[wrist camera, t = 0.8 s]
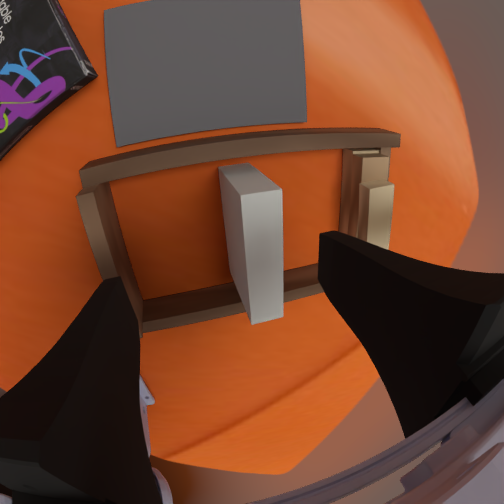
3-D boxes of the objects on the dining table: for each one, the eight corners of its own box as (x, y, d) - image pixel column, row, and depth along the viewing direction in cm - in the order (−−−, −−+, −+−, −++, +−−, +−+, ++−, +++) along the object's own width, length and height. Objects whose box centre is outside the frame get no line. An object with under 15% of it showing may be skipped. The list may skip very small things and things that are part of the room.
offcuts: (360, 248, 25) (384, 270, 22) (334, 254, 24) (358, 278, 21) (369, 146, 20) (401, 158, 17) (340, 147, 20) (371, 159, 17)
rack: (366, 260, 26) (391, 284, 22) (134, 312, 22) (133, 349, 18) (379, 128, 20) (415, 138, 16) (89, 161, 15) (71, 177, 12)
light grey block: (255, 265, 23) (283, 316, 18) (229, 271, 22) (251, 324, 17) (248, 162, 19) (282, 189, 14) (217, 166, 18) (240, 195, 13)
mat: (304, 121, 18) (306, 122, 18) (117, 146, 16) (116, 147, 15) (296, -1, 13) (299, -3, 13) (105, 12, 11) (103, 10, 11)
